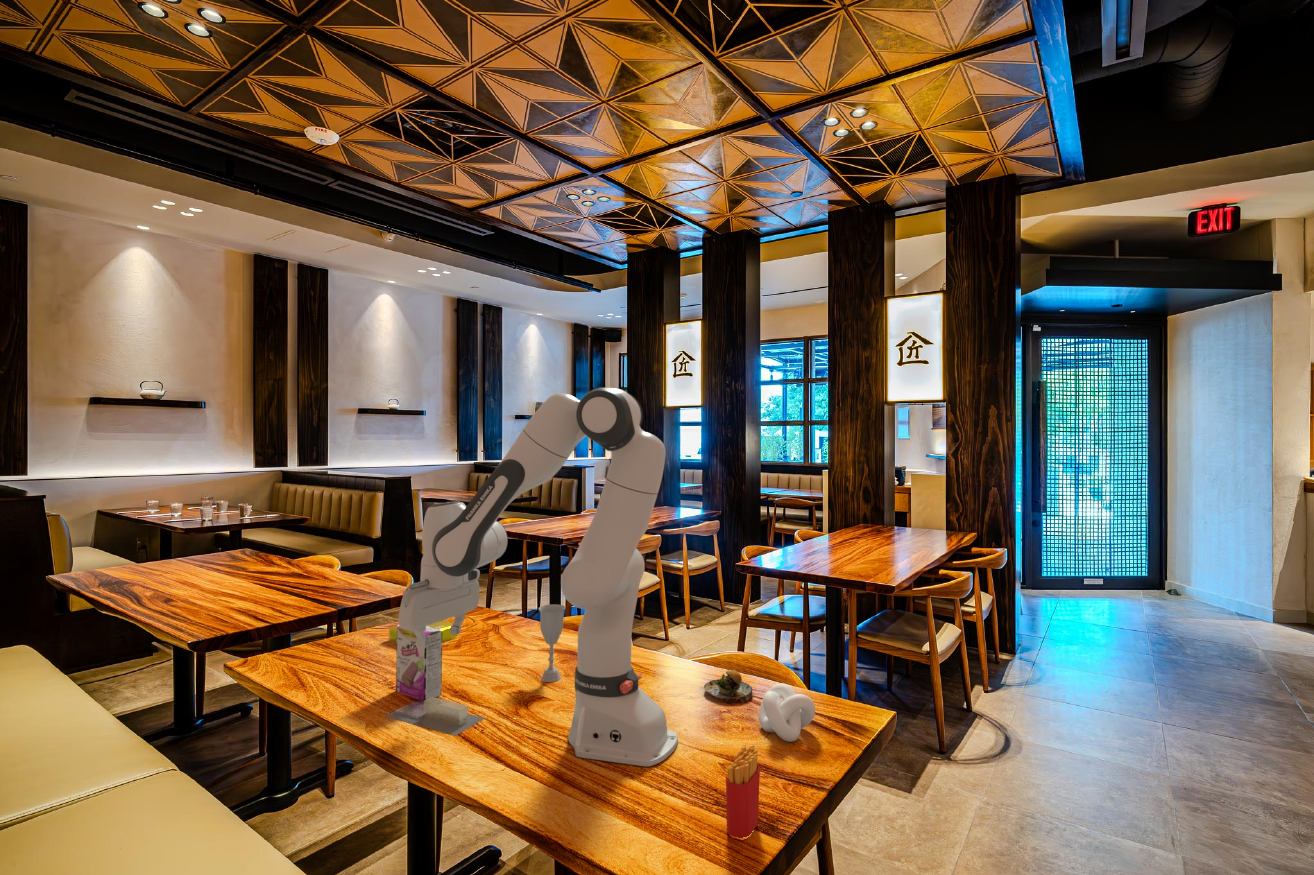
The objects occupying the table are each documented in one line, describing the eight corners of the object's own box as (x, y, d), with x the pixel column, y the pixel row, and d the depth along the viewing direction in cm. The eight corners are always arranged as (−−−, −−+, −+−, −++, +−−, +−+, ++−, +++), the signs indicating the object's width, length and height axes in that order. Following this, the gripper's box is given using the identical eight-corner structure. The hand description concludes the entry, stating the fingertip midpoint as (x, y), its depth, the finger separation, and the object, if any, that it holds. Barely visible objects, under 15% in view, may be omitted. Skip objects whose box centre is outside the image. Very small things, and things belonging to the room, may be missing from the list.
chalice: (558, 684, 155) (559, 612, 155) (532, 682, 156) (534, 610, 157) (568, 674, 162) (569, 605, 162) (543, 672, 164) (544, 603, 164)
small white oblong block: (471, 719, 133) (471, 703, 133) (454, 729, 128) (455, 712, 128) (412, 704, 140) (413, 689, 140) (394, 713, 135) (395, 697, 135)
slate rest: (485, 722, 134) (485, 718, 134) (455, 740, 125) (455, 735, 125) (416, 705, 142) (416, 700, 142) (383, 720, 134) (384, 716, 134)
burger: (707, 683, 158) (707, 654, 158) (753, 688, 155) (754, 658, 156) (700, 702, 146) (701, 671, 146) (751, 707, 144) (751, 675, 144)
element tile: (417, 651, 179) (418, 634, 179) (386, 642, 187) (386, 626, 187) (459, 638, 192) (459, 622, 192) (428, 629, 200) (428, 615, 200)
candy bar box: (394, 695, 147) (395, 626, 147) (412, 688, 151) (413, 621, 152) (424, 706, 141) (425, 634, 141) (442, 699, 145) (443, 629, 146)
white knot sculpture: (803, 753, 122) (804, 707, 122) (746, 738, 128) (746, 694, 128) (818, 730, 132) (819, 688, 132) (764, 718, 138) (765, 677, 138)
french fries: (740, 811, 102) (740, 738, 102) (763, 819, 100) (763, 744, 100) (719, 840, 95) (720, 761, 95) (744, 848, 93) (745, 767, 93)
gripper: (415, 587, 123) (412, 657, 124) (485, 569, 142) (482, 630, 142) (392, 583, 126) (389, 651, 126) (463, 566, 145) (461, 625, 145)
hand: (439, 639), depth 134 cm, fingers open, 8 cm apart
